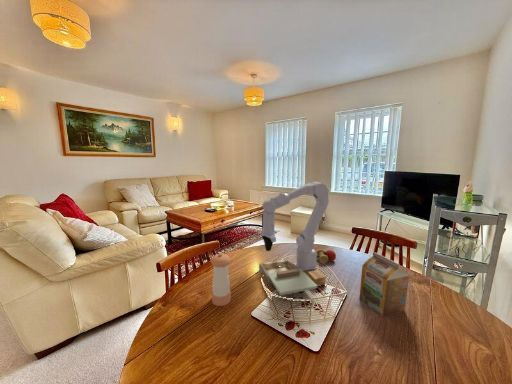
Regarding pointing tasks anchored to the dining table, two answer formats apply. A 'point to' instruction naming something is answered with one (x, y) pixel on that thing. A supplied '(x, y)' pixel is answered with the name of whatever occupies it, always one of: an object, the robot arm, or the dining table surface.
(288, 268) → the toolbox
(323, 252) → the kendama
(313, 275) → the tan block
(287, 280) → the lid
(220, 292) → the salt shaker
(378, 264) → the milk carton
